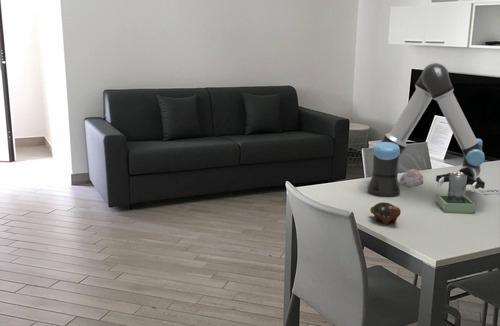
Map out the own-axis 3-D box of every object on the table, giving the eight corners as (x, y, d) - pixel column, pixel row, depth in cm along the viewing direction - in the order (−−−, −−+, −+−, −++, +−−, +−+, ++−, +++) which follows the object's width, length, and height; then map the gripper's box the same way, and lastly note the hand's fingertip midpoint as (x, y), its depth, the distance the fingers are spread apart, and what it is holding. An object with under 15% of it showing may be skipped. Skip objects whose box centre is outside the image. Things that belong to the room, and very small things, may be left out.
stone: (405, 197, 266) (421, 186, 261) (392, 182, 268) (407, 170, 263) (414, 190, 281) (429, 179, 275) (401, 175, 282) (416, 163, 277)
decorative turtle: (392, 229, 206) (392, 209, 204) (362, 221, 218) (362, 202, 216) (408, 223, 211) (408, 204, 210) (378, 215, 224) (378, 197, 222)
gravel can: (449, 208, 229) (452, 173, 225) (444, 203, 236) (448, 169, 232) (466, 208, 229) (469, 173, 225) (460, 203, 235) (464, 169, 232)
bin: (444, 212, 227) (445, 203, 226) (436, 203, 239) (437, 194, 238) (474, 213, 226) (475, 204, 225) (464, 204, 238) (465, 195, 237)
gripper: (494, 187, 239) (486, 199, 222) (437, 179, 252) (425, 189, 235) (496, 171, 237) (488, 181, 220) (439, 163, 250) (426, 173, 233)
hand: (455, 185), depth 227 cm, fingers open, 13 cm apart
